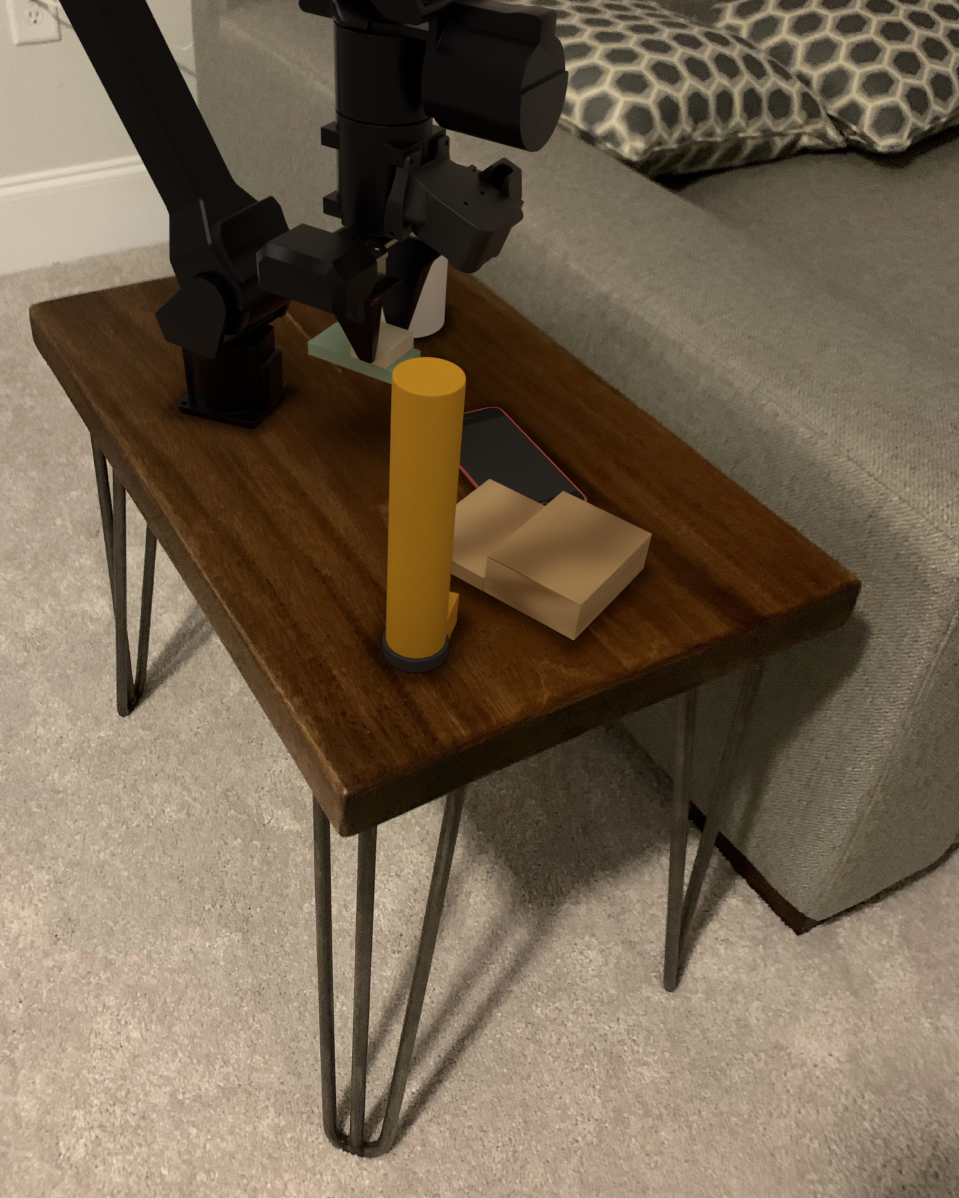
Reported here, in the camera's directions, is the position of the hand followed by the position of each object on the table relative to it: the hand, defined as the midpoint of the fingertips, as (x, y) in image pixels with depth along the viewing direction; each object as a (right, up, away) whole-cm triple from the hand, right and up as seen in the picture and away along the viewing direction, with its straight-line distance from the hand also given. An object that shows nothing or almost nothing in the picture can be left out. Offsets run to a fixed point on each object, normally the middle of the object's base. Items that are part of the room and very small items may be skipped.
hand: (382, 349), depth 71 cm
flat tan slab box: (+10, -15, -1) cm, 18 cm away
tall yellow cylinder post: (+3, -20, -8) cm, 22 cm away
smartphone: (+8, -7, +8) cm, 13 cm away
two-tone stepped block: (-1, 0, +1) cm, 2 cm away
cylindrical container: (0, +8, +22) cm, 24 cm away
